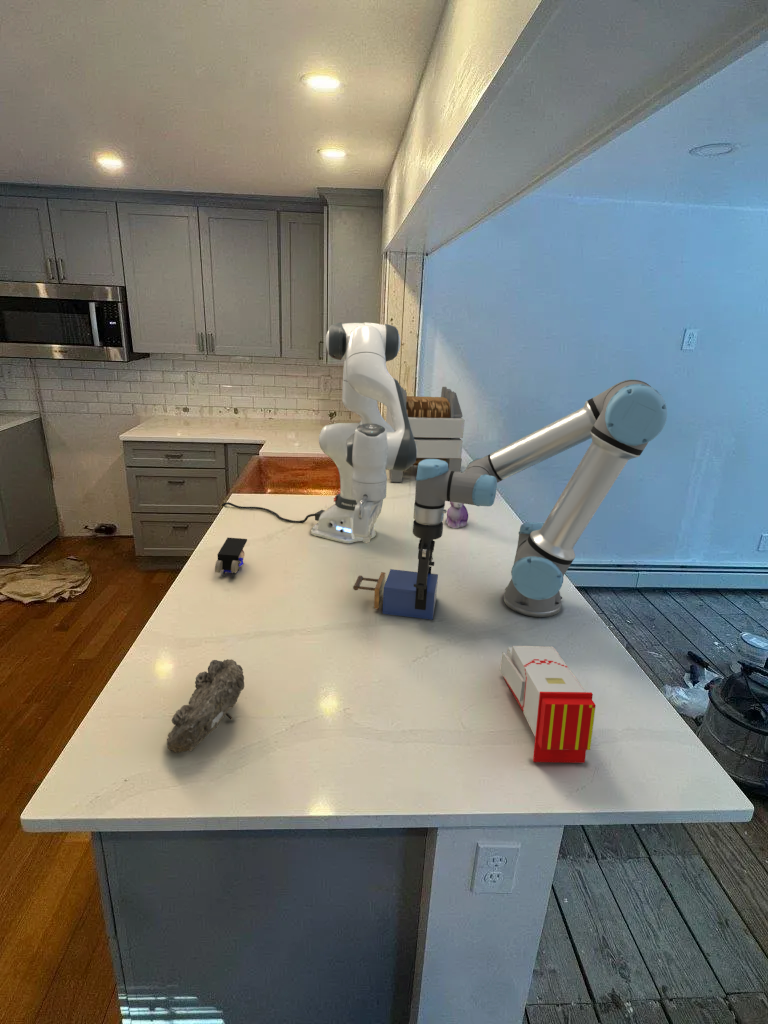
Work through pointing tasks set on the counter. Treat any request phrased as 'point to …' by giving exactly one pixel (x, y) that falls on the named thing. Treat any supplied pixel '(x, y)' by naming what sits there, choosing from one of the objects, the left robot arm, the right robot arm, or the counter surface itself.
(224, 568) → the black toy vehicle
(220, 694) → the fossil
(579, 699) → the toy
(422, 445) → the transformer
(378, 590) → the wooden drawer
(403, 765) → the counter surface
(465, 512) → the figurine
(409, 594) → the blue square-sided box
